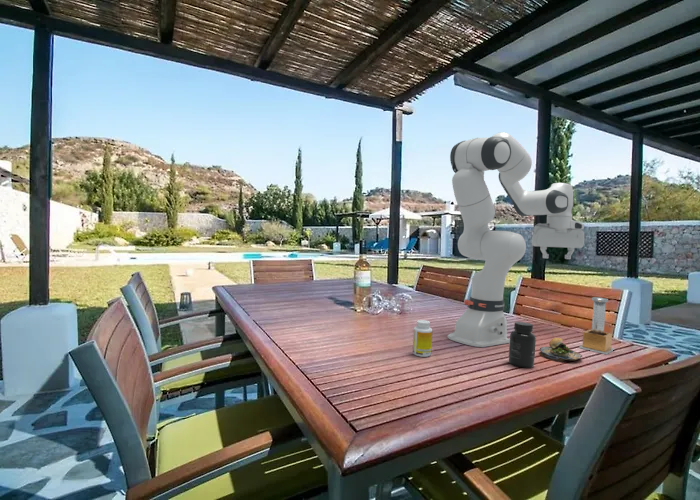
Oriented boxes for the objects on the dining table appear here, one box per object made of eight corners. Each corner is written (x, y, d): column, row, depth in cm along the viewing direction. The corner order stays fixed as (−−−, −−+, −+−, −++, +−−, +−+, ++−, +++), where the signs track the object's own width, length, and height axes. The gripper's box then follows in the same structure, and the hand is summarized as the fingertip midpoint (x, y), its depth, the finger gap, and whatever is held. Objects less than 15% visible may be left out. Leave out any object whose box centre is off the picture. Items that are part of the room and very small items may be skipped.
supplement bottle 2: (538, 369, 105) (541, 327, 105) (514, 368, 105) (516, 326, 105) (527, 360, 112) (530, 321, 111) (504, 359, 112) (507, 320, 112)
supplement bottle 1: (434, 356, 113) (436, 322, 112) (419, 358, 110) (421, 324, 110) (423, 350, 118) (425, 318, 117) (408, 352, 115) (410, 319, 115)
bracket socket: (606, 354, 121) (607, 337, 121) (579, 348, 127) (580, 331, 127) (614, 350, 127) (615, 334, 126) (587, 344, 133) (588, 328, 132)
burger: (566, 366, 109) (568, 341, 109) (530, 354, 120) (532, 331, 119) (590, 361, 115) (592, 337, 114) (554, 350, 125) (556, 328, 125)
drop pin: (602, 350, 124) (605, 300, 123) (586, 346, 127) (589, 298, 126) (606, 348, 127) (610, 299, 126) (591, 344, 130) (594, 296, 129)
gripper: (538, 222, 145) (536, 258, 146) (588, 225, 147) (585, 260, 148) (529, 223, 151) (527, 257, 152) (577, 225, 153) (574, 258, 154)
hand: (556, 258), depth 150 cm, fingers open, 8 cm apart
